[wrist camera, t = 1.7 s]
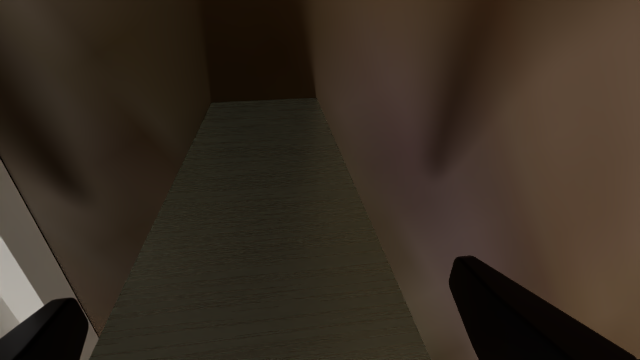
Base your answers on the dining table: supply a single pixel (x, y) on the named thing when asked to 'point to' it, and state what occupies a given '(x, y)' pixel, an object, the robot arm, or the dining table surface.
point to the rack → (27, 265)
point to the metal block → (262, 253)
